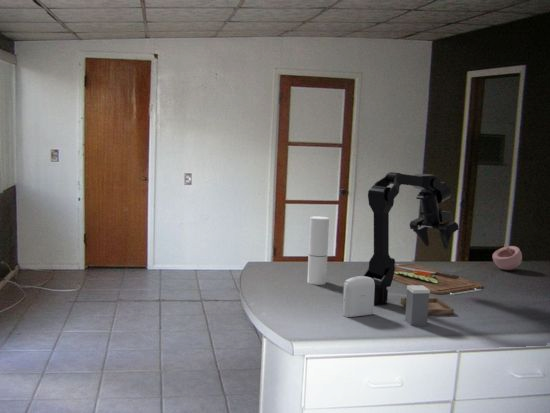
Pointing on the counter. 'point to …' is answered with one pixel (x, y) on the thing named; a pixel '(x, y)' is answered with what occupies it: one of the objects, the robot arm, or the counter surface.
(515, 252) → the pink round bowl
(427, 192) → the robot arm
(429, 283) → the chopping board
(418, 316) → the grey upright rectangular prism
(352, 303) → the white tombstone-shaped block
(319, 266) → the cylindrical container
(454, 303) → the counter surface
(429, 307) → the walnut tray
